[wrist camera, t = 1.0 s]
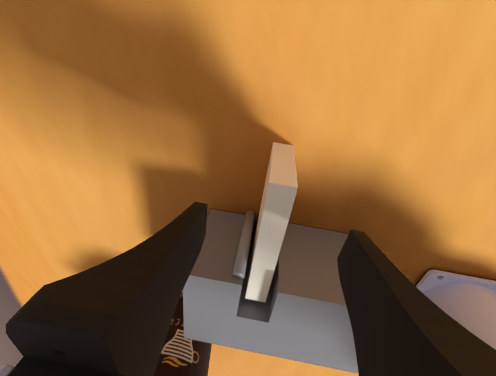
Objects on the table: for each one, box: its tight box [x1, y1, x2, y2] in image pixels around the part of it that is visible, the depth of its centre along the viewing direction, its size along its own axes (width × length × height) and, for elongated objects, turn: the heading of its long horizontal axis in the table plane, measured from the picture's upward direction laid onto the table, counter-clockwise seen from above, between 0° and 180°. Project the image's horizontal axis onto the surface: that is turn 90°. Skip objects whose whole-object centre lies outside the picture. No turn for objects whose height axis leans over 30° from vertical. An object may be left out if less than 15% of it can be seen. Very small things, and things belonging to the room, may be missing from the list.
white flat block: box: [245, 142, 298, 302], centre depth 17 cm, size 2×10×6 cm, turn 172°
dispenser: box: [183, 209, 371, 373], centre depth 20 cm, size 14×9×7 cm, turn 82°
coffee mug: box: [154, 297, 212, 376], centre depth 25 cm, size 12×9×10 cm
